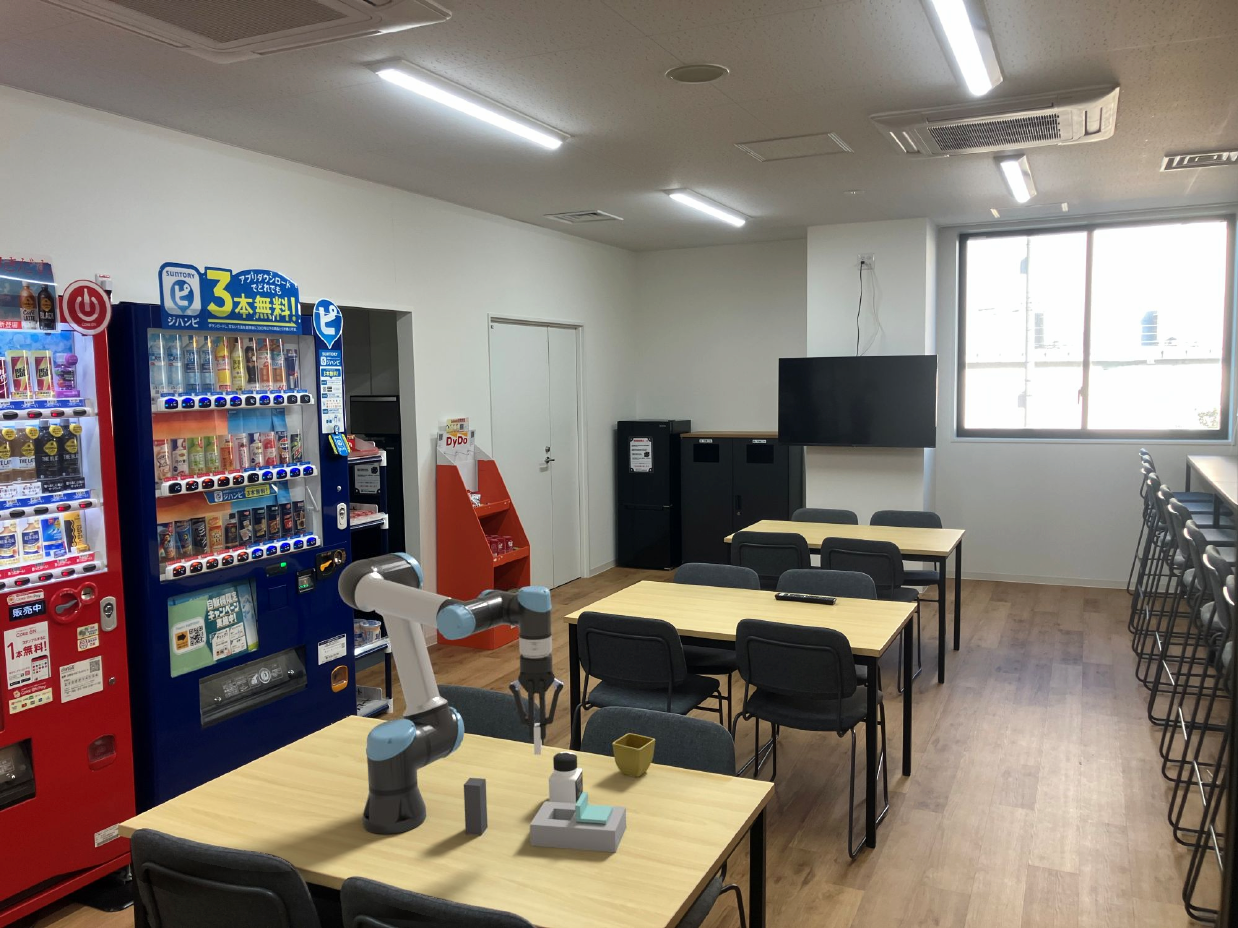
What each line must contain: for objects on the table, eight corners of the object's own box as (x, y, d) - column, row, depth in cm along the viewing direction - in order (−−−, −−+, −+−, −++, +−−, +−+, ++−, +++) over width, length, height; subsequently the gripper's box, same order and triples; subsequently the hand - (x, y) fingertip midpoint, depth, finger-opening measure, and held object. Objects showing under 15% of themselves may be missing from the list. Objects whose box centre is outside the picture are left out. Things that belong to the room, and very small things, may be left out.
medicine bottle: (576, 807, 230) (575, 760, 229) (549, 805, 231) (547, 759, 230) (583, 794, 237) (582, 749, 236) (556, 793, 238) (555, 748, 237)
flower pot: (656, 770, 251) (656, 738, 250) (640, 782, 243) (639, 749, 243) (629, 763, 255) (628, 732, 255) (612, 775, 248) (611, 743, 247)
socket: (530, 845, 211) (529, 824, 210) (545, 821, 222) (544, 801, 222) (615, 852, 207) (615, 830, 206) (626, 827, 218) (625, 806, 218)
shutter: (575, 821, 211) (575, 805, 210) (583, 807, 218) (582, 791, 217) (606, 823, 209) (605, 807, 209) (612, 809, 216) (612, 793, 216)
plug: (465, 833, 217) (463, 784, 216) (471, 825, 221) (469, 777, 220) (481, 834, 216) (479, 785, 215) (487, 826, 220) (485, 778, 219)
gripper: (505, 658, 209) (508, 758, 211) (562, 658, 209) (564, 758, 211) (510, 649, 217) (512, 746, 219) (565, 648, 217) (566, 745, 219)
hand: (538, 751), depth 215 cm, fingers closed
